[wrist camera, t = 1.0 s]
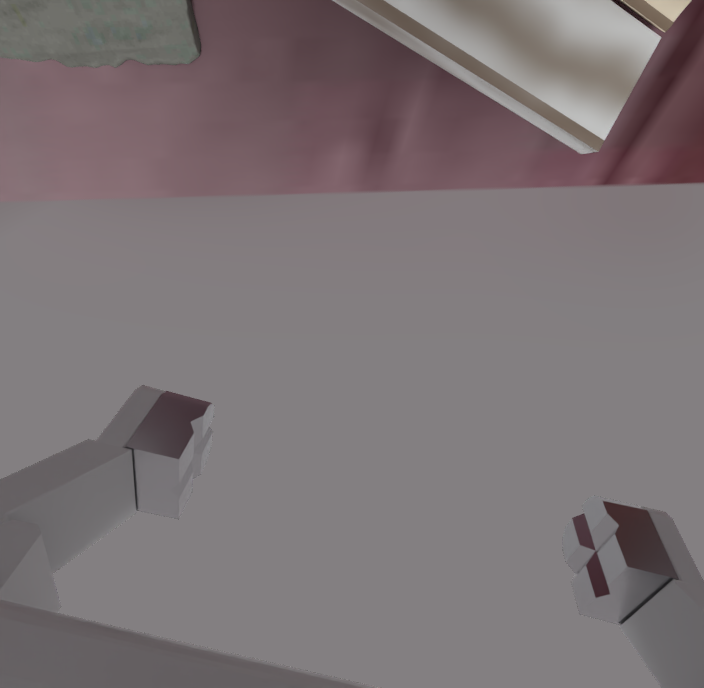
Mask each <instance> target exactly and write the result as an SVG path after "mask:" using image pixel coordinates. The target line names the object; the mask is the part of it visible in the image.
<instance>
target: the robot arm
mask: <svg viewBox="0 0 704 688" xmlns="http://www.w3.org/2000/svg"><path fill="white" fill-rule="evenodd" d="M213 418H214V405H213V404H212V403H210V402H206V401H202V400H198V399H194V398H191V397H187V396H183V395H180V394H176V393H172V392H169V391H163V390H159V389H156V388H152V387H148V386H145V385H142V386H140V387H139V388H137V389H136V390H135V391H134V392H133V393H132V395H131V396H130V397H129V398H128V400H127V401H126V402H125V404H124V405H123V406H122V407H121V409H120V410H119V411H118V413H117V414H116V415H115V417H114V418H113V419H112V421H111V422H110V423H109V424H108V426H107V427H106V428H105V429H104V431H103V432H102V433H101V435H100V436H99V437H98V439H97V440H96V441H95V440H90V439H88V440H85V441H83V442H81V443H79V444H77V445H74V446H72V447H70V448H68V449H66V450H63V451H61V452H59V453H57V454H55V455H53V456H50V457H48V458H46V459H44V460H42V461H39V462H37V463H35V464H33V465H31V466H28V467H26V468H24V469H22V470H20V471H18V472H16V473H13V474H11V475H9V476H7V477H5V478H2V479H0V688H379V687H375V686H371V685H367V684H363V683H358V682H354V681H350V680H345V679H341V678H337V677H332V676H328V675H323V674H319V673H315V672H311V671H307V670H302V669H298V668H293V667H289V666H285V665H281V664H276V663H272V662H267V661H263V660H259V659H255V658H251V657H246V656H242V655H238V654H233V653H229V652H225V651H220V650H216V649H212V648H207V647H203V646H198V645H194V644H190V643H186V642H181V641H177V640H173V639H168V638H164V637H160V636H156V635H151V634H146V633H142V632H138V631H134V630H130V629H125V628H121V627H116V626H112V625H108V624H103V623H99V622H95V621H90V620H86V619H82V618H78V617H73V616H69V615H65V614H61V613H58V611H59V609H60V608H61V604H60V600H59V596H58V592H57V589H56V586H55V582H54V578H53V573H55V572H56V571H57V570H59V569H60V568H61V567H63V566H64V565H66V564H67V563H68V562H70V561H71V560H73V559H74V558H75V557H77V556H78V555H79V554H81V553H82V552H84V551H85V550H86V549H88V548H89V547H90V546H92V545H93V544H95V543H96V542H97V541H99V540H100V539H101V538H103V537H104V536H106V535H107V534H108V533H110V532H111V531H113V530H114V529H115V528H117V527H118V526H119V525H121V524H122V523H124V522H125V521H126V520H128V519H129V518H130V517H132V516H133V515H135V514H136V511H141V512H146V513H151V514H156V515H161V516H166V517H170V518H175V519H179V518H180V516H181V514H182V512H183V510H184V508H185V506H186V504H187V502H188V500H189V498H190V496H191V493H192V485H193V479H194V478H196V477H197V476H199V475H201V473H202V471H203V469H204V466H205V464H206V462H207V459H208V455H209V453H210V449H211V444H212V438H213V431H212V429H211V428H210V427H209V425H210V423H211V421H212V420H213ZM582 507H583V511H584V514H582V515H579V516H576V517H574V518H572V519H571V520H570V522H569V523H568V525H567V526H566V527H565V531H564V535H563V540H562V544H563V553H564V557H565V562H566V563H567V564H568V565H569V567H570V568H571V569H572V570H573V571H574V573H575V576H574V577H573V579H572V581H571V585H572V588H573V592H574V596H575V600H576V603H577V607H578V611H579V614H580V615H584V616H588V617H591V618H595V619H599V620H603V621H607V622H610V623H614V624H618V625H621V626H620V627H619V628H620V629H621V630H622V632H623V633H624V634H625V636H626V638H627V639H628V640H629V642H630V643H631V645H632V646H633V647H634V649H635V651H636V652H637V653H638V655H639V656H640V658H641V659H642V661H643V662H644V663H645V665H646V666H647V668H648V669H649V670H650V672H651V673H652V675H653V676H654V678H655V679H656V680H657V682H658V683H659V685H660V686H661V688H704V581H703V579H702V577H701V575H700V573H699V571H698V569H697V567H696V565H695V563H694V561H693V559H692V557H691V555H690V553H689V551H688V549H687V547H686V545H685V543H684V541H683V539H682V537H681V535H680V533H679V531H678V529H677V527H676V525H675V523H674V521H673V519H672V518H671V517H670V516H669V515H668V514H667V513H666V512H663V511H659V510H655V509H650V508H646V507H640V506H638V505H633V504H629V503H625V502H621V501H616V500H612V499H607V498H603V497H599V496H593V497H590V498H588V499H587V500H586V502H585V503H584V504H583V505H582Z"/></svg>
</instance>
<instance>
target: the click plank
mask: <svg viewBox="0 0 704 688" xmlns="http://www.w3.org/2000/svg"><path fill="white" fill-rule="evenodd" d="M332 1H334V2H335V3H337V4H339V5H340V6H342V7H344V8H345V9H347V10H348V11H350V12H352V13H353V14H355V15H357V16H358V17H360V18H361V19H363V20H365V21H366V22H368V23H370V24H371V25H373V26H374V27H376V28H378V29H379V30H381V31H382V32H384V33H386V34H387V35H389V36H391V37H392V38H394V39H395V40H397V41H399V42H400V43H402V44H404V45H405V46H407V47H408V48H410V49H412V50H413V51H415V52H417V53H418V54H420V55H421V56H423V57H425V58H426V59H428V60H429V61H431V62H433V63H434V64H436V65H438V66H439V67H441V68H442V69H444V70H446V71H447V72H449V73H451V74H452V75H454V76H455V77H457V78H459V79H460V80H462V81H464V82H465V83H467V84H468V85H470V86H472V87H473V88H475V89H477V90H478V91H480V92H481V93H483V94H485V95H486V96H488V97H489V98H491V99H493V100H494V101H496V102H498V103H499V104H501V105H502V106H504V107H506V108H507V109H509V110H511V111H512V112H514V113H515V114H517V115H519V116H520V117H522V118H524V119H525V120H527V121H528V122H530V123H532V124H533V125H535V126H537V127H538V128H540V129H541V130H543V131H545V132H546V133H548V134H549V135H551V136H553V137H554V138H556V139H558V140H559V141H561V142H562V143H564V144H566V145H567V146H569V147H571V148H572V149H574V150H575V151H577V152H579V153H580V154H585V153H592V152H598V151H599V150H600V148H601V146H602V144H603V142H604V140H605V139H606V137H607V135H608V133H609V131H610V129H611V128H612V126H613V124H614V122H615V120H616V119H617V117H618V115H619V113H620V111H621V110H622V108H623V106H624V104H625V102H626V101H627V99H628V97H629V95H630V93H631V92H632V90H633V88H634V86H635V84H636V83H637V81H638V79H639V77H640V75H641V74H642V72H643V70H644V68H645V66H646V64H647V63H648V61H649V59H650V57H651V55H652V54H653V52H654V50H655V48H656V46H657V45H658V43H659V41H660V39H661V37H660V36H659V35H657V34H656V33H655V32H653V31H652V30H651V29H649V28H648V27H646V26H645V25H644V24H642V23H641V22H640V21H638V20H637V19H636V18H634V17H633V16H632V15H630V14H629V13H627V12H626V11H625V10H623V9H622V8H621V7H619V6H618V5H617V4H615V3H614V2H612V1H611V0H332Z"/></svg>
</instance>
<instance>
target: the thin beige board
mask: <svg viewBox="0 0 704 688" xmlns="http://www.w3.org/2000/svg"><path fill="white" fill-rule="evenodd" d="M619 1H621V2H622V3H623V4H625V5H626V6H627V7H629V8H630V9H631V10H633V11H634V12H635V13H637V14H638V15H639V16H641V17H642V18H644V19H645V20H646V21H648V22H649V23H650V24H652V25H653V26H654V27H656V28H658V29H660V30H661V31H663V32H666V31H667V30H668V29H669V28H670V27H671V25H672V24H673V23H674V21H675V20H676V18H677V17H678V16H679V15H680V14H681V12H682V11H683V10H684V9H685V8H686V6H687V5H688V4H689V3H690V2H691V0H619Z"/></svg>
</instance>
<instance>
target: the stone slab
mask: <svg viewBox="0 0 704 688" xmlns="http://www.w3.org/2000/svg"><path fill="white" fill-rule="evenodd" d="M200 48H201V43H200V38H199V33H198V29H197V24H196V20H195V17H194V13H193V9H192V4H191V0H0V57H2V58H11V59H21V60H27V61H32V62H41V61H45V60H49V59H53V60H56V61H59V62H60V63H62V64H64V65H65V66H67V67H79V66H88V67H94V68H97V67H100V66H102V65H110V66H113V67H115V68H116V67H118V66H120V65H121V64H122V63H123V62H125V61H126V60H136V61H138V62H141V63H143V64H146V65H152V64H169V65H177V64H181V63H184V64H189V63H191V62H192V61H193V60H195V59H196V58H197V57H199V56H200Z"/></svg>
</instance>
